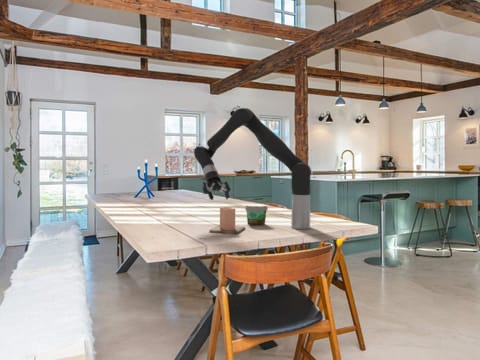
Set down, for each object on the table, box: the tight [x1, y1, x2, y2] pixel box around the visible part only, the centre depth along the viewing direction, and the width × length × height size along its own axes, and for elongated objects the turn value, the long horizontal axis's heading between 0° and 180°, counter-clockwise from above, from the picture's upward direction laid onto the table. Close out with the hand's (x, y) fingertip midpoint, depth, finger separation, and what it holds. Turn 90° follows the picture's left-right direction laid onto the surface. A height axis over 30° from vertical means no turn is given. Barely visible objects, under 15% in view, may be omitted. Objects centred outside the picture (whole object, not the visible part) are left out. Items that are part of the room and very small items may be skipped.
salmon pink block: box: [219, 206, 236, 230], centre depth 171 cm, size 6×6×10 cm
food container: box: [244, 205, 269, 227], centre depth 186 cm, size 12×6×10 cm, turn 76°
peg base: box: [208, 224, 246, 235], centre depth 171 cm, size 14×13×8 cm
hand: (220, 198), depth 177 cm, fingers open, 8 cm apart
